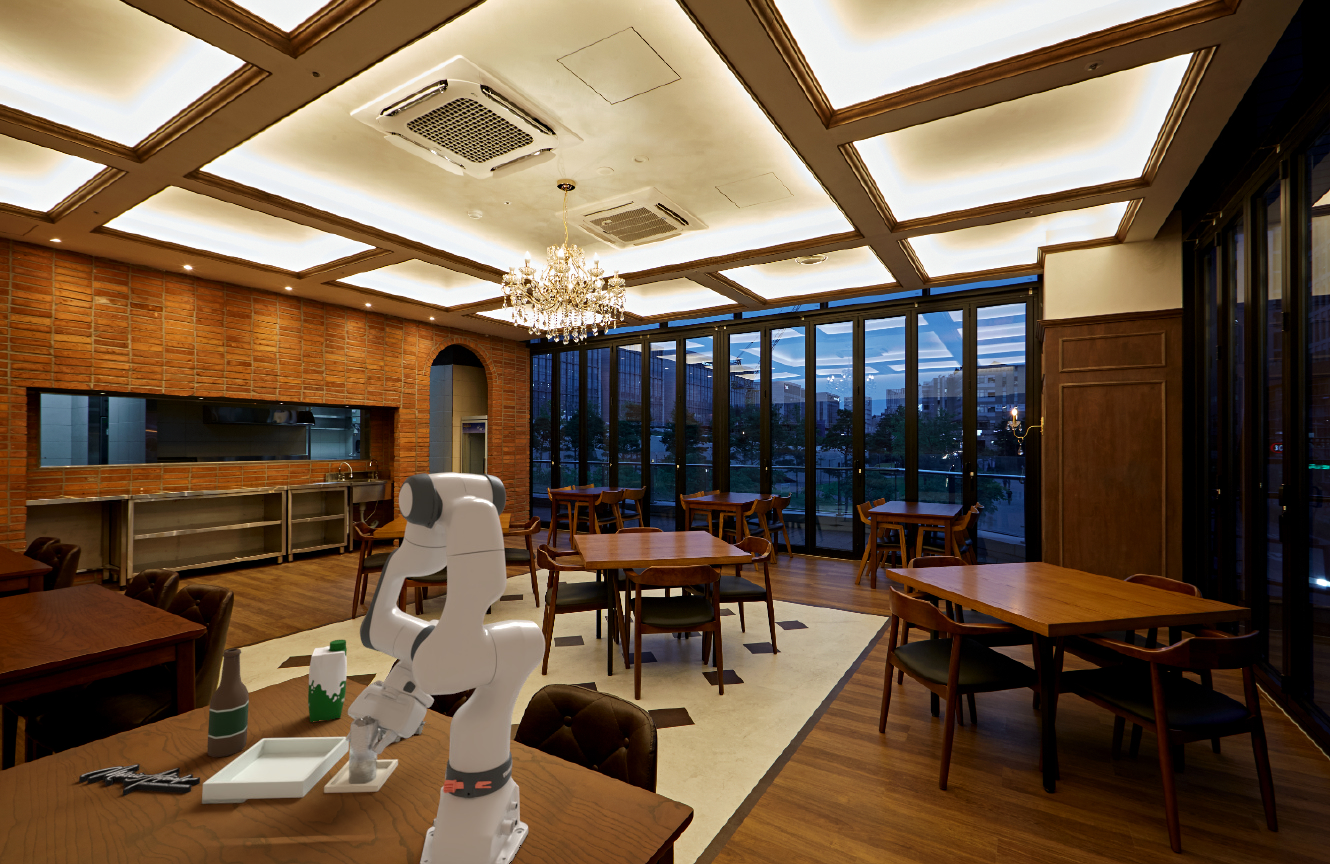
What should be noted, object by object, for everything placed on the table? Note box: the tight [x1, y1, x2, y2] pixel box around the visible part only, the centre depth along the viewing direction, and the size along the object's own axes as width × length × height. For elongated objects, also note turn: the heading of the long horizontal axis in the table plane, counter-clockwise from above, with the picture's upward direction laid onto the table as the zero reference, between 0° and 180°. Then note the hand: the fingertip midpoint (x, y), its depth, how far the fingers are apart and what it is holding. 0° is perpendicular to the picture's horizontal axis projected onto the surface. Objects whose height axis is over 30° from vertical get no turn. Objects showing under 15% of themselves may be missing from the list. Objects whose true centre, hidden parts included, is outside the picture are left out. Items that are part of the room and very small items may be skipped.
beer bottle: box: [207, 647, 250, 759], centre depth 144 cm, size 8×8×24 cm
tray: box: [323, 759, 399, 794], centre depth 130 cm, size 11×11×2 cm
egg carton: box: [378, 720, 427, 743], centre depth 151 cm, size 11×8×4 cm
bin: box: [201, 736, 350, 805], centre depth 131 cm, size 20×20×4 cm
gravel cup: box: [348, 716, 379, 784], centre depth 130 cm, size 6×6×13 cm
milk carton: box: [307, 639, 348, 722], centre depth 163 cm, size 9×9×20 cm
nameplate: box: [78, 763, 201, 797], centre depth 128 cm, size 28×2×10 cm
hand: (362, 746), depth 130 cm, fingers open, 8 cm apart
